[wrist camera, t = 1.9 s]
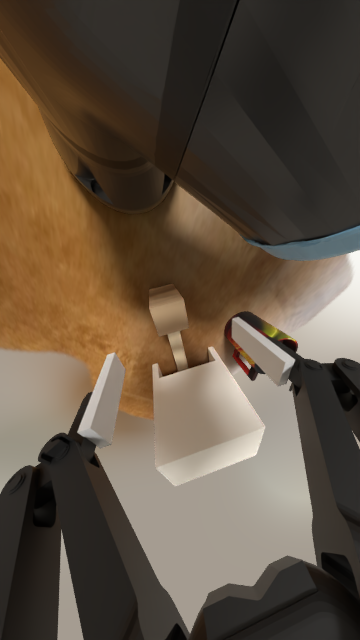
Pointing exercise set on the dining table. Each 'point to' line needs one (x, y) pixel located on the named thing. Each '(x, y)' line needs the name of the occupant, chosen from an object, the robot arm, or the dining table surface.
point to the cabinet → (201, 421)
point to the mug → (263, 329)
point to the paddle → (170, 319)
